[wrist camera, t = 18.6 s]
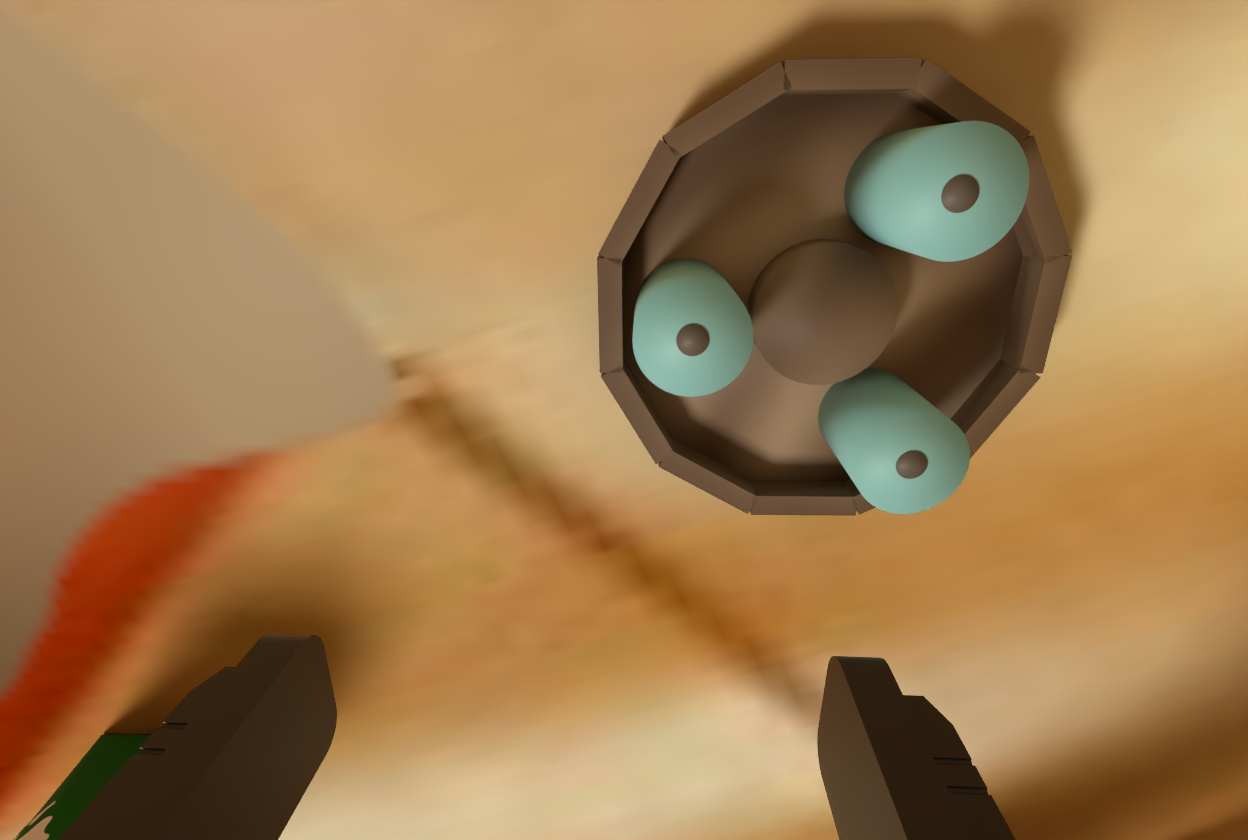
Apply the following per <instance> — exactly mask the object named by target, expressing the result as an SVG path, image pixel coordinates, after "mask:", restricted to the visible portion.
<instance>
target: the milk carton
mask: <svg viewBox="0 0 1248 840" xmlns="http://www.w3.org/2000/svg"><path fill="white" fill-rule="evenodd" d="M150 736H151V735H101V736H100V738H99V739H98V740H97V741H96V743H95V744H94V745H93V746H92V747H91V749H90V750H89V751H88V752H87V754H86V755H85V756H84V757H83V758H82V760H81V761H80V762H79V763H78V765H77V766H76V767H75V768H74V769H73V771H72V772H71V773H70V774H69V776H68V777H67V778H66V779H65V780H64V782H63V783H62V784H61V785H60V787H59V788H58V789H57V790H56V791H55V793H54V794H53V795H52V796H51V798H50V799H49V800H48V801H47V802H46V804H45V805H44V806H43V807H42V809H41V810H40V811H39V812H38V813H37V814H36V816H35V817H34V818H33V819H32V820H31V821H30V822H29V823H28V824H27V825H26V826H25V827H24V828H23V830H22V831H21V832H20V833H19V834H18V835H17V836H16V837H15V838H14V839H13V840H57V839H58V838H59V837H60V836H61V835H62V834H63V833H64V831H65V830H66V829H67V828H68V827H69V826H70V825H71V824H72V823H73V821H74V820H75V819H76V818H77V817H78V816H79V815H80V814H81V813H82V811H83V810H84V809H85V808H86V807H87V806H88V805H89V804H90V803H91V801H92V800H93V799H94V798H95V797H96V796H97V795H98V794H99V793H100V791H101V790H102V789H103V788H104V787H105V786H106V785H107V784H108V782H109V781H110V780H111V779H112V778H113V777H114V776H115V775H116V774H117V772H118V771H119V770H120V769H121V768H122V767H123V766H124V765H125V764H126V762H127V761H128V760H129V759H130V758H131V757H132V756H133V755H134V754H136V755H137V754H138V753H139V751H140V747H141V746H142V745H143V744H144V742H145V741H146V740H147V739H148V738H149V737H150Z"/></svg>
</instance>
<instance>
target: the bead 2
mask: <svg viewBox="0 0 1248 840" xmlns="http://www.w3.org/2000/svg"><path fill="white" fill-rule="evenodd" d="M1028 188H1029V168H1028V163H1027V159H1026V156H1025V154H1024V151H1023V149H1022V147H1021V146H1020V144H1019V143H1018V141H1017V140H1016V139H1015V138H1014V137H1013V136H1012V135H1011V134H1010V133H1009V132H1007V131H1006V130H1005V129H1003V128H1001V127H999V126H997V125H994V124H992V123H988V122H983V121H963V122H956V123H949V124H942V125H935V126H929V127H922V128H915V129H908V130H901V131H896V132H892V133H889V134H886V135H884V136H882V137H880V138H878V139H876V140H875V141H873V142H872V143H871V144H869V145H868V146H867V147H866V148H865V149H864V150H863V151H862V152H861V153H860V154H859V156H858V157H857V158H856V160H855V161H854V163H853V165H852V166H851V169H850V171H849V173H848V176H847V179H846V183H845V189H844V203H845V208H846V212H847V215H848V217H849V219H850V221H851V223H852V224H853V226H854V227H855V229H856V230H857V231H858V232H859V233H861V234H862V235H863V236H865V237H866V238H868V239H870V240H872V241H875V242H878V243H881V244H884V245H887V246H891V247H894V248H897V249H900V250H903V251H906V252H909V253H912V254H915V255H919V256H922V257H925V258H928V259H931V260H936V261H943V262H953V261H960V260H965V259H968V258H971V257H974V256H976V255H979V254H981V253H983V252H984V251H986V250H988V249H989V248H991V247H992V246H994V245H995V244H996V243H998V242H999V241H1000V240H1001V239H1002V238H1003V237H1004V236H1005V235H1006V234H1007V233H1008V231H1009V230H1010V229H1011V228H1012V226H1013V225H1014V224H1015V222H1016V221H1017V219H1018V217H1019V215H1020V213H1021V212H1022V209H1023V207H1024V204H1025V201H1026V198H1027V194H1028Z"/></svg>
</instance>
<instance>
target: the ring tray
mask: <svg viewBox="0 0 1248 840" xmlns="http://www.w3.org/2000/svg"><path fill="white" fill-rule="evenodd" d="M921 60H922V57H921V58H853V59H785V60H784V61H783V62H782V63H781V61H780V62H778V63H777V64H775V65H773V66H772V67H770V68H769V69H767V70H766V71H764V72H762V73H761V74H759V75H758V76H756V77H755V78H753V79H752V80H750V81H748V82H747V83H745V84H744V85H742V86H741V87H739V88H737V89H736V90H734V91H733V92H731V93H730V94H728V95H726V96H725V97H723V98H722V99H720V100H719V101H717V102H715V103H714V104H712V105H711V106H709V107H708V108H706V109H704V110H703V111H701V112H700V113H698V114H697V115H695V116H693V117H692V118H690V119H689V120H687V121H686V122H684V123H682V124H681V125H679V126H678V127H676V128H675V129H673V130H671V131H670V132H668V133H667V134H665V135H664V136H663V137H662V138H663V140H664V142H665V143H664V142H663V141H661V140H659V142H658V144H657V145H656V147H655V149H654V151H653V153H652V155H651V157H650V158H649V160H648V162H647V164H646V166H645V168H644V170H643V171H642V173H641V175H640V177H639V179H638V181H637V183H636V184H635V186H634V188H633V190H632V192H631V194H630V196H629V198H628V199H627V201H626V203H625V205H624V207H623V209H622V211H621V212H620V214H619V216H618V218H617V220H616V222H615V224H614V225H613V227H612V229H611V231H610V233H609V235H608V237H607V238H606V240H605V242H604V244H603V246H602V248H601V250H600V252H599V253H598V254H599V256H598V258H597V269H598V312H599V354H600V373H602V375H601V377H602V379H603V380H604V382H605V384H606V385H607V387H608V388H609V390H610V392H611V393H612V395H613V396H614V398H615V400H616V401H617V403H618V404H619V406H620V408H621V409H622V411H623V412H624V414H625V415H626V417H627V419H628V420H629V422H630V423H631V425H632V427H633V428H634V430H635V431H636V433H637V435H638V436H639V438H640V439H641V441H642V443H643V444H644V446H645V447H646V449H647V451H648V452H649V454H650V455H651V457H652V459H653V460H654V462H655V463H656V464H657V463H659V467H660V468H662V469H664V470H666V471H668V472H670V473H672V474H673V475H675V476H677V477H679V478H681V479H683V480H685V481H687V482H689V483H690V484H692V485H694V486H696V487H698V488H700V489H702V490H704V491H706V492H707V493H709V494H711V495H713V496H715V497H717V498H719V499H721V500H723V501H724V502H726V503H728V504H730V505H732V506H734V507H736V508H738V509H740V510H741V511H743V512H745V513H747V514H748V512H749V511H750V512H751V515H853V516H855V514H856V510H857V512H858V513H859V515H860V514H862V513H864V512H866V511H868V510H871V509H873V508H875V506H873V505H872V504H870V503H869V502H868V501H867V500H866V499H865V498H864V497H863V496H862V495H861V493H860V491H859V490H858V488H857V487H856V485H855V484H854V482H853V481H852V479H851V478H850V476H849V475H848V473H847V472H846V470H845V469H844V467H843V466H842V464H841V463H840V461H839V460H838V458H837V457H836V455H835V454H834V452H833V451H832V449H831V448H830V446H829V445H828V443H827V442H826V440H825V439H824V437H823V436H822V433H821V431H820V428H819V423H818V412H819V407H820V404H821V401H822V399H823V397H824V395H825V394H826V392H827V391H828V390H829V388H830V387H831V386H832V385H833V384H834V383H837V382H840V381H843V380H846V379H848V378H851V377H853V376H855V375H856V374H858V373H860V372H862V371H863V370H864V369H881V370H885V371H888V372H891V373H893V374H895V375H896V376H898V377H899V378H901V379H902V380H903V381H904V382H905V383H907V384H908V385H909V386H910V387H911V388H913V389H914V390H915V391H916V392H918V393H919V394H920V395H921V396H922V397H924V398H925V399H926V400H927V401H928V402H930V403H931V404H932V405H933V406H935V407H936V408H937V409H938V410H939V411H941V412H942V413H943V414H944V415H945V416H947V417H948V418H949V419H950V420H952V421H953V422H954V423H955V424H956V425H957V426H958V427H959V428H960V429H961V430H962V432H963V433H964V435H965V437H966V439H967V441H968V444H969V450H970V458H971V457H972V456H973V455H974V454H975V452H976V451H977V450H978V449H979V448H980V447H981V445H982V444H983V443H984V442H985V441H986V440H987V439H988V437H989V436H990V435H991V434H992V433H993V432H994V430H995V429H996V428H997V427H998V426H999V425H1000V423H1001V422H1002V421H1003V420H1004V419H1005V418H1006V417H1007V415H1008V414H1009V413H1010V412H1011V411H1012V410H1013V408H1014V407H1015V406H1016V405H1017V404H1018V403H1019V402H1020V400H1021V399H1022V398H1023V397H1024V396H1025V395H1026V393H1027V392H1028V391H1029V390H1030V389H1031V388H1032V387H1033V385H1034V384H1035V383H1036V382H1037V381H1038V380H1039V378H1040V377H1039V376H1038V375H1036V374H1034V373H1043V370H1044V366H1045V362H1046V358H1047V354H1048V349H1049V345H1050V341H1051V337H1052V333H1053V329H1054V325H1055V321H1056V317H1057V313H1058V309H1059V305H1060V301H1061V297H1062V293H1063V289H1064V285H1065V281H1066V277H1067V273H1068V269H1069V265H1070V260H1071V256H1069V255H1066V254H1068V253H1070V252H1071V248H1070V245H1069V242H1068V239H1067V236H1066V233H1065V230H1064V227H1063V224H1062V221H1061V218H1060V215H1059V212H1058V209H1057V206H1056V203H1055V200H1054V197H1053V194H1052V191H1051V188H1050V185H1049V182H1048V179H1047V176H1046V172H1045V169H1044V166H1043V163H1042V160H1041V157H1040V154H1039V151H1038V148H1037V145H1036V142H1035V139H1034V136H1028V135H1029V133H1030V131H1029V130H1027V129H1026V128H1024V127H1023V126H1022V125H1020V124H1019V123H1017V122H1016V121H1014V120H1013V119H1012V118H1010V117H1009V116H1007V115H1006V114H1004V113H1003V112H1002V111H1000V110H999V109H997V108H996V107H994V106H993V105H992V104H990V103H989V102H987V101H986V100H985V99H983V98H982V97H980V96H979V95H977V94H976V93H975V92H973V91H972V90H970V89H969V88H967V87H966V86H965V85H963V84H962V83H960V82H959V81H957V80H956V79H955V78H953V77H952V76H950V75H949V74H947V73H946V72H945V71H943V70H942V69H940V68H939V67H937V66H936V65H935V64H933V63H932V62H930V61H929V60H927V59H925V60H923V61H921ZM963 121H983V122H988V123H992V124H994V125H997V126H999V127H1001V128H1003V129H1005V130H1006V131H1007V132H1009V133H1010V134H1011V135H1012V136H1013V137H1014V138H1015V139H1016V140H1017V141H1018V143H1019V144H1020V146H1021V147H1022V149H1023V151H1024V154H1025V156H1026V159H1027V163H1028V168H1029V188H1028V194H1027V198H1026V201H1025V204H1024V207H1023V209H1022V212H1021V213H1020V215H1019V217H1018V219H1017V221H1016V222H1015V224H1014V225H1013V226H1012V228H1011V229H1010V230H1009V231H1008V233H1007V234H1006V235H1005V236H1004V237H1003V238H1002V239H1001V240H1000V241H999V242H998V243H996V244H995V245H994V246H992V247H991V248H989V249H988V250H986V251H984V252H983V253H981V254H979V255H976V256H974V257H971V258H968V259H965V260H960V261H953V262H943V261H936V260H931V259H928V258H925V257H922V256H919V255H915V254H912V253H909V252H906V251H903V250H900V249H897V248H894V247H891V246H887V245H884V244H881V243H878V242H875V241H872V240H870V239H868V238H866V237H865V236H863V235H862V234H861V233H859V232H858V231H857V230H856V229H855V227H854V226H853V224H852V223H851V221H850V219H849V217H848V215H847V212H846V208H845V203H844V189H845V183H846V179H847V176H848V173H849V171H850V169H851V166H852V165H853V163H854V161H855V160H856V158H857V157H858V156H859V154H860V153H861V152H862V151H863V150H864V149H865V148H866V147H867V146H868V145H869V144H871V143H872V142H873V141H875V140H876V139H878V138H880V137H882V136H884V135H886V134H889V133H892V132H896V131H901V130H908V129H915V128H922V127H929V126H935V125H942V124H949V123H956V122H963ZM682 258H689V259H696V260H700V261H703V262H706V263H708V264H710V265H711V266H713V267H714V268H716V269H717V270H718V271H719V272H720V273H721V274H722V275H723V276H724V278H725V279H726V280H727V282H728V283H729V284H730V286H731V287H732V289H733V290H734V291H735V293H736V294H737V295H738V297H739V298H740V300H741V301H742V302H743V304H744V305H745V307H746V309H747V311H748V313H749V315H750V318H751V321H752V325H753V347H752V351H751V354H750V357H749V359H748V362H747V364H746V365H745V367H744V369H743V370H742V371H741V373H740V374H739V375H738V376H737V377H736V378H735V379H734V380H733V381H732V382H731V383H730V384H728V385H727V386H725V387H724V388H722V389H720V390H718V391H716V392H714V393H711V394H708V395H703V396H696V397H686V396H679V395H675V394H671V393H668V392H666V391H664V390H662V389H660V388H659V387H657V386H656V385H654V384H653V383H652V382H651V381H650V380H649V379H648V378H647V377H646V376H645V375H644V373H643V372H642V370H641V369H640V367H639V365H638V363H637V361H636V358H635V355H634V350H633V342H632V338H633V324H634V311H635V301H636V296H637V293H638V290H639V288H640V286H641V284H642V282H643V281H644V279H645V278H646V277H647V276H648V275H649V273H651V272H652V271H653V270H654V269H655V268H657V267H658V266H660V265H662V264H664V263H666V262H668V261H671V260H675V259H682Z"/></svg>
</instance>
